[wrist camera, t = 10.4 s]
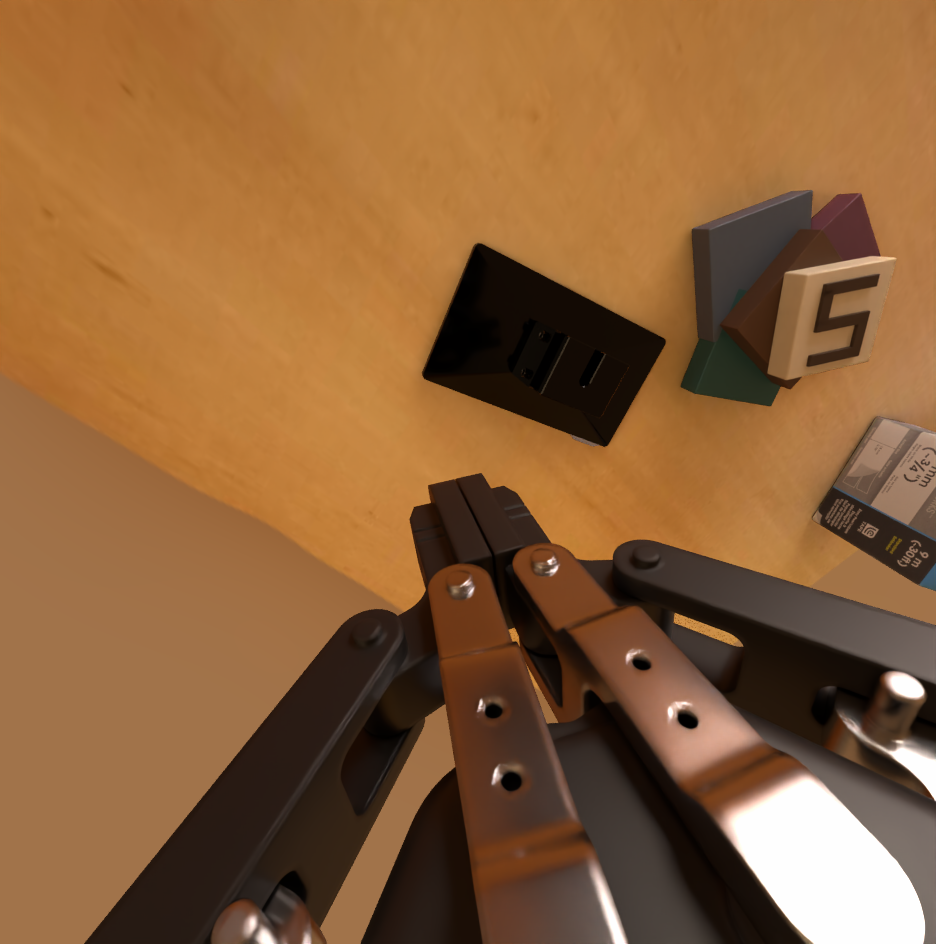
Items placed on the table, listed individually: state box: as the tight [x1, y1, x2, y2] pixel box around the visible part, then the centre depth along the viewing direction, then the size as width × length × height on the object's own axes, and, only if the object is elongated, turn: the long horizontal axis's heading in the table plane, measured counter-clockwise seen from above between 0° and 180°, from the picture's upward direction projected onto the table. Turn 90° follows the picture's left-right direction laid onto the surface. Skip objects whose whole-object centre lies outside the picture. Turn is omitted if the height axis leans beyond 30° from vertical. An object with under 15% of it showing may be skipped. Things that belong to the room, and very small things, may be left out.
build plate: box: [422, 243, 666, 447], centre depth 25 cm, size 12×7×5 cm, turn 67°
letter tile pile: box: [681, 190, 896, 406], centre depth 27 cm, size 12×12×4 cm
